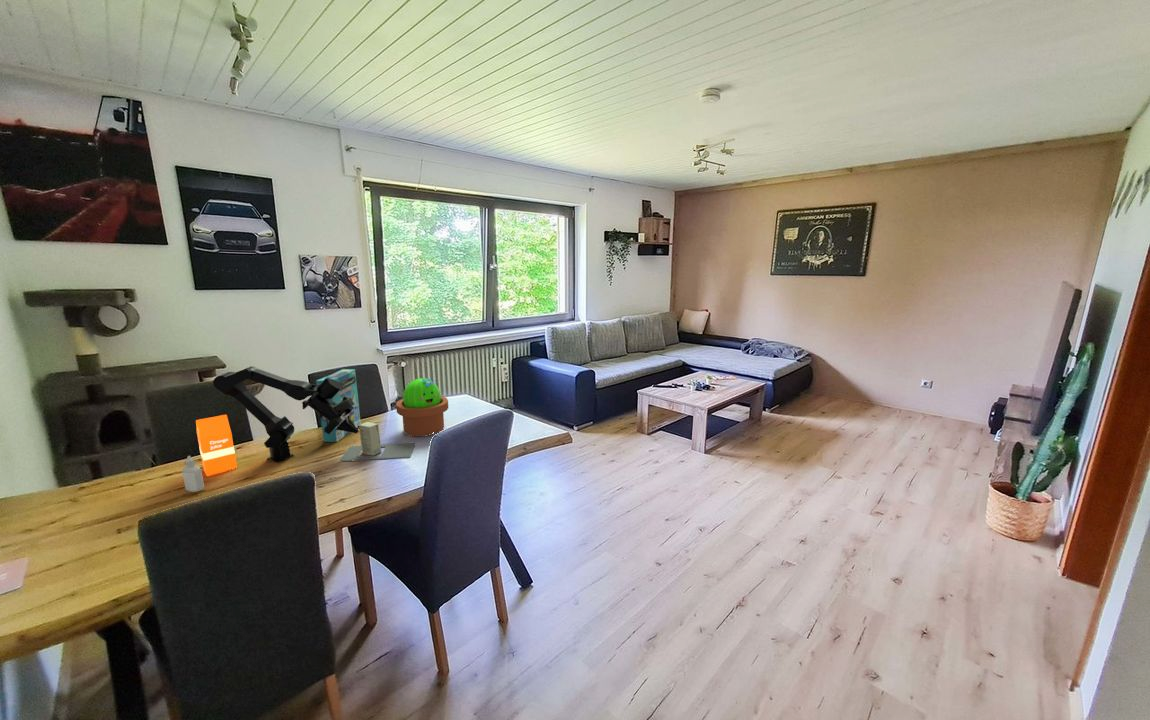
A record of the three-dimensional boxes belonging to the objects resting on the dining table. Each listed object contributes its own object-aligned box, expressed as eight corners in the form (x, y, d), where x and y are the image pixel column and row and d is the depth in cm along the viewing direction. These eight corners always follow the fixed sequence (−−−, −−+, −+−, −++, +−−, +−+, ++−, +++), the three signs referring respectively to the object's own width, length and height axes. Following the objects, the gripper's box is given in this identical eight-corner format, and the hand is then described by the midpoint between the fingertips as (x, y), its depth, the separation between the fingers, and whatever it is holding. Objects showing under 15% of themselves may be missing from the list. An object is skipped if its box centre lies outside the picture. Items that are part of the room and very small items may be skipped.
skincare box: (381, 452, 175) (379, 423, 172) (372, 456, 171) (370, 427, 168) (370, 449, 177) (367, 421, 175) (361, 453, 173) (358, 424, 171)
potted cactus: (391, 428, 199) (386, 376, 194) (436, 418, 214) (433, 369, 209) (410, 443, 184) (406, 386, 178) (457, 430, 198) (455, 378, 193)
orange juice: (237, 468, 159) (229, 416, 155) (206, 476, 153) (196, 423, 149) (233, 461, 164) (224, 411, 160) (203, 469, 158) (193, 417, 154)
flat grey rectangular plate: (338, 462, 166) (338, 461, 165) (350, 447, 179) (350, 446, 179) (410, 457, 170) (410, 456, 170) (416, 443, 184) (416, 442, 184)
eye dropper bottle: (188, 495, 141) (181, 460, 138) (185, 489, 144) (178, 455, 142) (205, 490, 144) (199, 456, 141) (202, 484, 148) (195, 451, 145)
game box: (337, 442, 183) (330, 380, 178) (322, 442, 183) (315, 380, 178) (361, 425, 203) (356, 369, 197) (348, 424, 203) (342, 368, 198)
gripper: (329, 399, 158) (365, 426, 162) (346, 385, 176) (377, 410, 180) (308, 421, 158) (344, 447, 162) (327, 405, 176) (359, 429, 180)
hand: (357, 432), depth 171 cm, fingers closed
